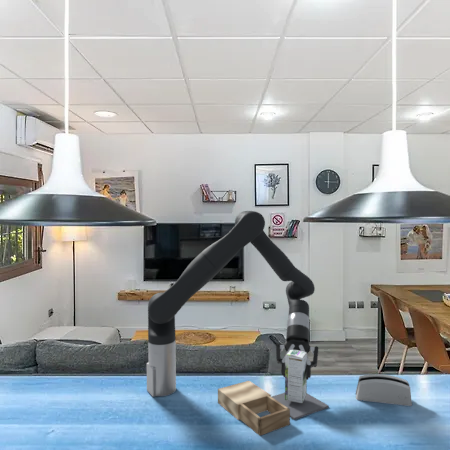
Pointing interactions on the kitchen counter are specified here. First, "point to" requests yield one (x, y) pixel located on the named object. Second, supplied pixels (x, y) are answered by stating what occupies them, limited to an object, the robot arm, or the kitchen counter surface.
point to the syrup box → (295, 376)
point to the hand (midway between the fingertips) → (295, 377)
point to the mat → (301, 406)
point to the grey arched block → (383, 389)
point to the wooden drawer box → (254, 407)
